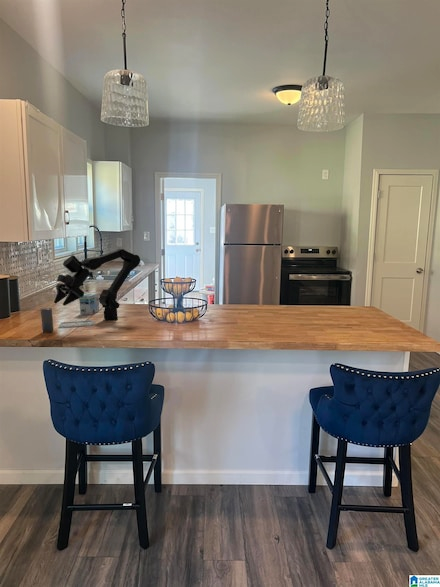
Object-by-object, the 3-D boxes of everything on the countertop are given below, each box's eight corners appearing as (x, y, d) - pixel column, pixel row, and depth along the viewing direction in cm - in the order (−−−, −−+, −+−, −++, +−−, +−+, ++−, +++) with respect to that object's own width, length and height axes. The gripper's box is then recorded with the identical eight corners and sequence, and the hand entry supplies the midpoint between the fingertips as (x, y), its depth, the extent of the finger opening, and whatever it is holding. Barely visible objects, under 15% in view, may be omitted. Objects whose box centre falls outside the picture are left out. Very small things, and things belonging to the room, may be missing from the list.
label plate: (93, 321, 217) (93, 319, 217) (92, 325, 207) (92, 324, 207) (61, 323, 213) (61, 322, 213) (58, 328, 203) (58, 326, 203)
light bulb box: (90, 314, 233) (89, 295, 232) (79, 314, 235) (78, 295, 233) (99, 310, 244) (98, 292, 242) (89, 310, 245) (88, 292, 243)
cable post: (54, 330, 200) (52, 307, 198) (52, 332, 195) (50, 309, 193) (43, 330, 198) (41, 308, 197) (41, 333, 194) (39, 310, 192)
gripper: (58, 267, 207) (37, 291, 201) (76, 269, 194) (55, 295, 188) (74, 281, 214) (55, 305, 208) (92, 284, 201) (72, 310, 195)
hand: (59, 304), depth 199 cm, fingers open, 9 cm apart
